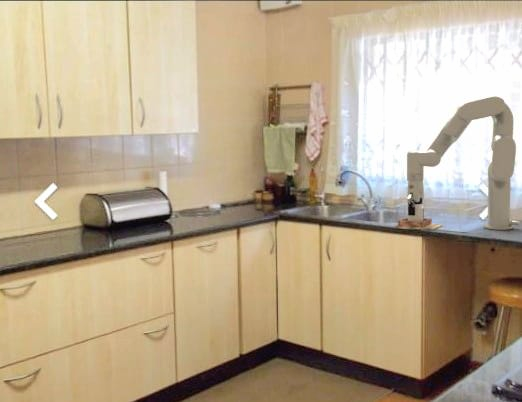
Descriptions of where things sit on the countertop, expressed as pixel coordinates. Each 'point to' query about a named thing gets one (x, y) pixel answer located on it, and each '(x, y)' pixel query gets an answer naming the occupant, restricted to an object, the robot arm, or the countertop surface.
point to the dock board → (418, 224)
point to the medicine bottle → (417, 212)
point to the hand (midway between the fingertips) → (415, 213)
